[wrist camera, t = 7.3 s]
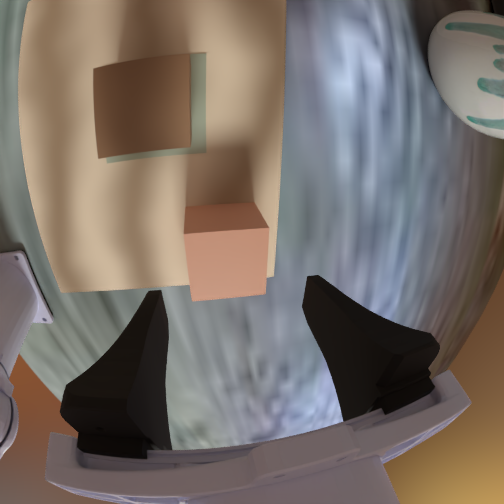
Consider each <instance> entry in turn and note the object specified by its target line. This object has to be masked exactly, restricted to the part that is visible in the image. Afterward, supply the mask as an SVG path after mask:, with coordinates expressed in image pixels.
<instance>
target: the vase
mask: <svg viewBox="0 0 504 504" xmlns="http://www.w3.org/2000/svg"><path fill="white" fill-rule="evenodd" d="M428 63H429V68H430V73H431V76H432V79H433V82H434V84H435V87H436V89H437V91H438V92H439V94H440V96H441V98H442V99H443V101H444V102H445V104H446V105H447V106H448V107H449V109H450V110H451V111H452V112H453V113H454V114H455V115H456V116H457V117H458V118H459V119H460V120H461V121H463V122H464V123H465V124H467V125H468V126H470V127H471V128H473V129H475V130H477V131H479V132H481V133H483V134H486V135H488V136H492V137H496V138H500V139H504V16H502V15H498V14H494V13H489V12H483V11H475V10H463V11H457V12H453V13H451V14H448V15H446V16H445V17H443V18H442V19H441V20H440V21H439V22H438V23H437V24H436V25H435V27H434V29H433V31H432V32H431V35H430V38H429V42H428Z"/></svg>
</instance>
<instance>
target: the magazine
mask: <svg viewBox="0 0 504 504" xmlns="http://www.w3.org/2000/svg"><path fill="white" fill-rule="evenodd" d="M491 2H492V6H493V9H494V14H498V15H502V16H504V0H491Z"/></svg>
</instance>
